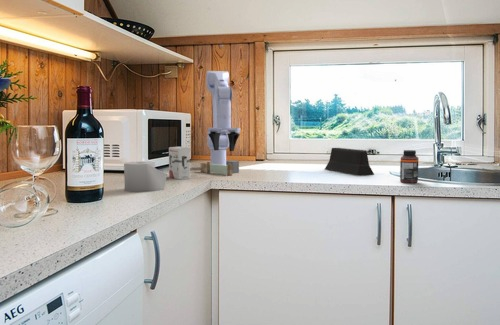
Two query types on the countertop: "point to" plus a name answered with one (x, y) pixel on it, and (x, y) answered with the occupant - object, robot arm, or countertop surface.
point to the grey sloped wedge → (143, 177)
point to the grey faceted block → (234, 166)
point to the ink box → (179, 162)
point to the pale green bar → (218, 168)
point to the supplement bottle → (409, 167)
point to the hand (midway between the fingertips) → (224, 150)
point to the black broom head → (349, 162)
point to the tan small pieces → (206, 168)
